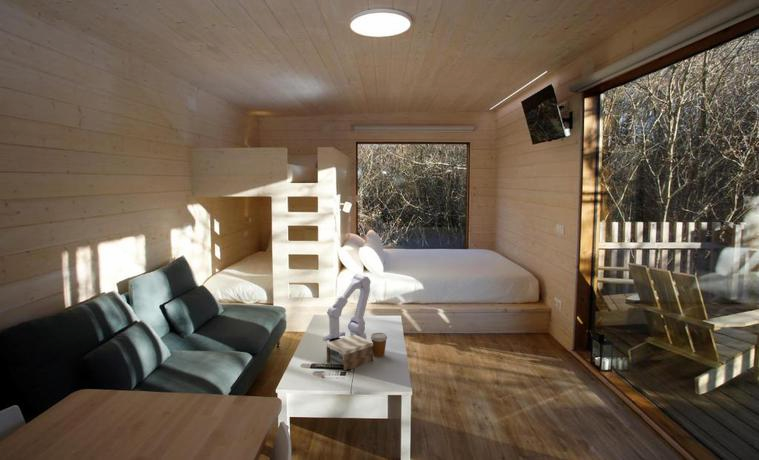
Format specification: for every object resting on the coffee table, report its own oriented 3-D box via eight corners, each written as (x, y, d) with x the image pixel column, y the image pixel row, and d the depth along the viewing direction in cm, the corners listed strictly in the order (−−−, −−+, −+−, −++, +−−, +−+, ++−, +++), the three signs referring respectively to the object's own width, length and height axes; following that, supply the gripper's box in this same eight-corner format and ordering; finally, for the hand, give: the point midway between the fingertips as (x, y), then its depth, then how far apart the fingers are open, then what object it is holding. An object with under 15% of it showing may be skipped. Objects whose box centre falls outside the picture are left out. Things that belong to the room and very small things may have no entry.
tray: (343, 352, 264) (343, 342, 263) (363, 361, 251) (363, 351, 250) (328, 357, 257) (328, 347, 256) (347, 367, 243) (347, 356, 243)
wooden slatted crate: (354, 352, 264) (354, 334, 263) (373, 361, 252) (373, 342, 250) (326, 361, 250) (326, 342, 249) (344, 371, 238) (344, 351, 237)
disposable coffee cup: (385, 359, 254) (385, 338, 253) (369, 357, 256) (369, 337, 255) (388, 352, 264) (388, 333, 262) (372, 351, 266) (372, 331, 264)
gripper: (340, 323, 268) (340, 345, 269) (320, 328, 258) (320, 351, 259) (347, 326, 262) (347, 348, 264) (327, 331, 253) (327, 354, 254)
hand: (334, 350), depth 261 cm, fingers closed, pressing on tray
